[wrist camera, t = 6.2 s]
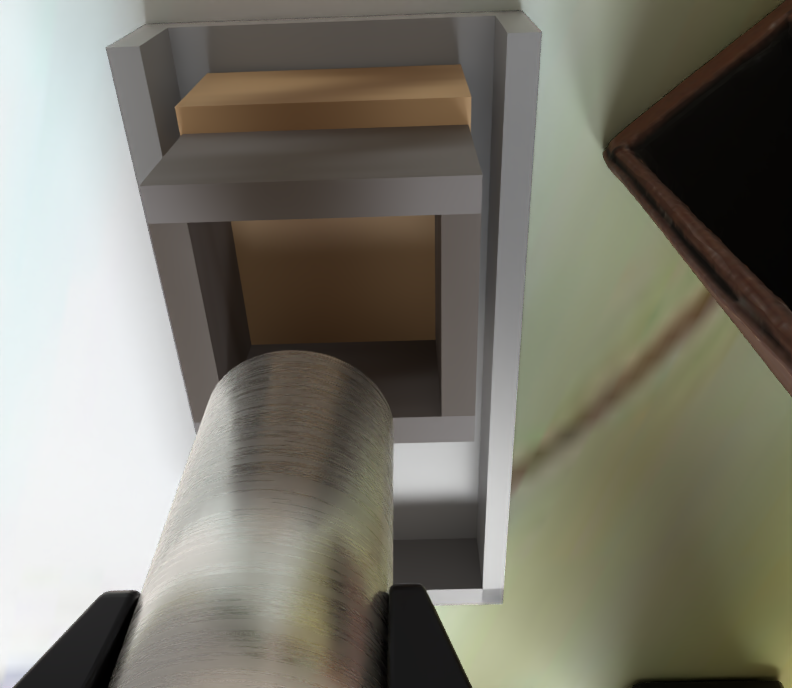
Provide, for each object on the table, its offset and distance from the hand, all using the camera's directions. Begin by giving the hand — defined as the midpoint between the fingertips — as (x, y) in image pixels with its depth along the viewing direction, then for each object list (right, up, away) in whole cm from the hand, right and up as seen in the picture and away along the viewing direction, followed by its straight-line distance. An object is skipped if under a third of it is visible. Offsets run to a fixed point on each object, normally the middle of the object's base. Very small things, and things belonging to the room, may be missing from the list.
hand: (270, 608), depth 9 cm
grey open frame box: (0, +7, +11) cm, 13 cm away
